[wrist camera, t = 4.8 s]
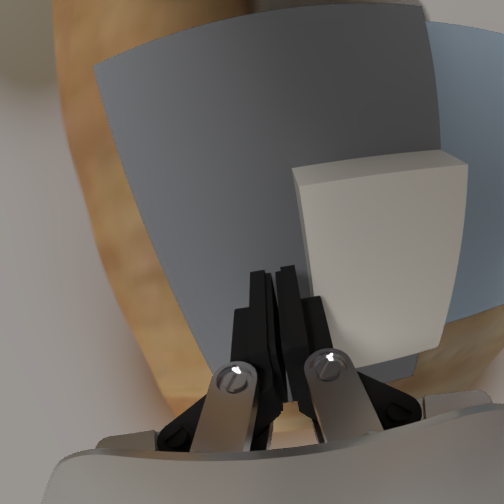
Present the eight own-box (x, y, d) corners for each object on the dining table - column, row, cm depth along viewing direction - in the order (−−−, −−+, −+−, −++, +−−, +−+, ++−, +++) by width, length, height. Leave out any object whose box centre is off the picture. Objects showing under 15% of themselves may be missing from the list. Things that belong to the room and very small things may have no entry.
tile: (291, 168, 11) (298, 186, 9) (439, 149, 10) (468, 164, 8) (316, 343, 15) (321, 374, 14) (424, 320, 15) (438, 346, 13)
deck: (131, 66, 12) (92, 66, 9) (382, 19, 11) (421, 6, 7) (234, 362, 22) (231, 408, 19) (395, 333, 21) (412, 375, 17)
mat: (382, 19, 11) (385, 18, 10) (528, 41, 9) (532, 42, 9) (395, 333, 21) (397, 337, 20) (506, 299, 19) (508, 302, 19)
